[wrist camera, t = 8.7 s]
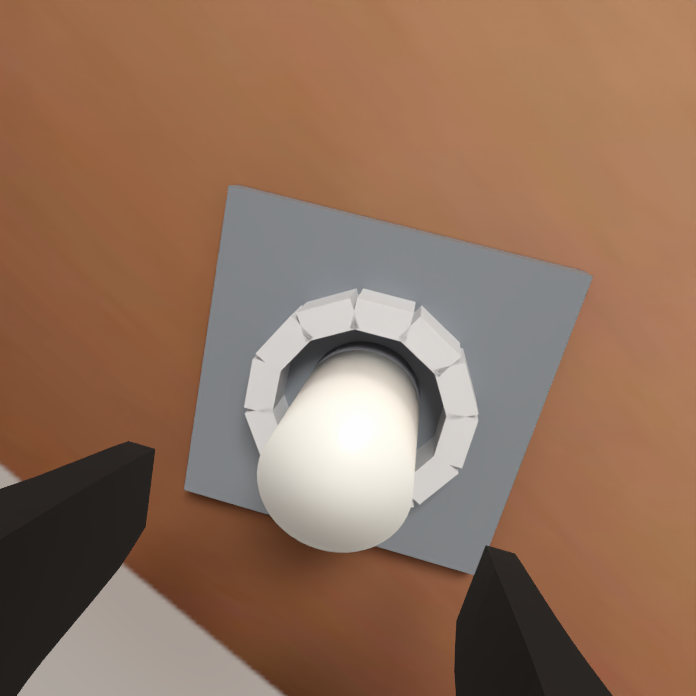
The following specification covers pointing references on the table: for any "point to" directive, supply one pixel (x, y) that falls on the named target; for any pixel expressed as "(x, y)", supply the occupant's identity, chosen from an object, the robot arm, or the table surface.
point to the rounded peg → (345, 451)
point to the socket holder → (393, 332)
